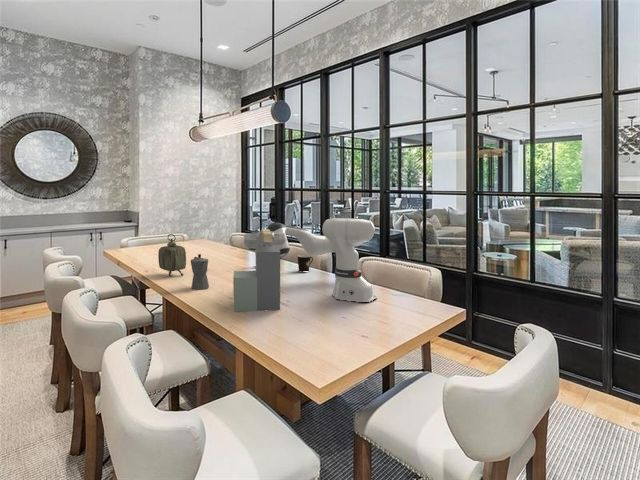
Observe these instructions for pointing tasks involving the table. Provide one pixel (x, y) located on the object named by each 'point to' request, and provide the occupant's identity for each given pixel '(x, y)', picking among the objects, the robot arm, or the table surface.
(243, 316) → the table surface
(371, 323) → the table surface
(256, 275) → the step stand
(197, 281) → the coffeepot
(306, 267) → the coffee mug
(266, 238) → the batten
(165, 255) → the tabletop clock
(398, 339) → the table surface
